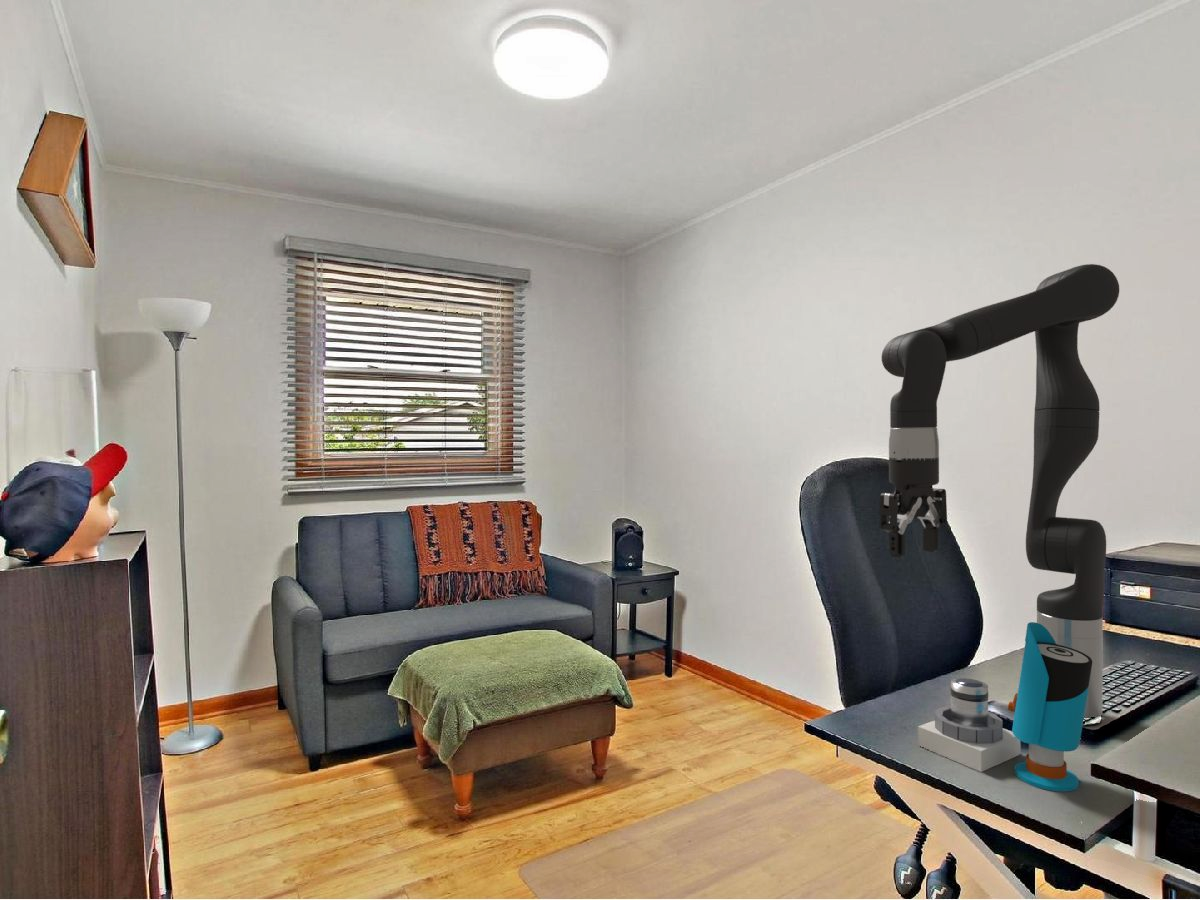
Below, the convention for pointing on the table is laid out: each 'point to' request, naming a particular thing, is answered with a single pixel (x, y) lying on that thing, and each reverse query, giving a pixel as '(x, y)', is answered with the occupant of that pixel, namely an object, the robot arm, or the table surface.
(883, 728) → the table surface
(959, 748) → the mount
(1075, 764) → the table surface
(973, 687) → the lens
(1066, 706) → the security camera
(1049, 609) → the robot arm
